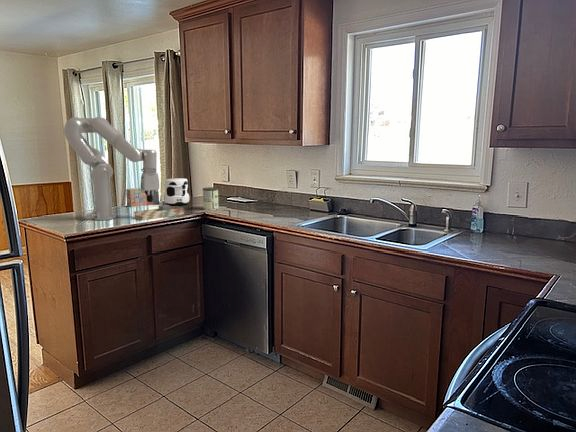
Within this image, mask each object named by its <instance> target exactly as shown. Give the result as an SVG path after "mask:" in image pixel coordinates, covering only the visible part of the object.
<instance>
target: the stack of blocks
mask: <svg viewBox="0 0 576 432" xmlns="http://www.w3.org/2000/svg"><path fill="white" fill-rule="evenodd" d="M125 190H126V193H125V195H126V206H127V207H128V208H135V207H136V206H137V207H145V206H153V205H159V204H160V193H159V192H160V191H159V190H158V192H155V193H154V195H153V200H152V202H147V195H146V194H145V193H144V192H141V187H133V188H125Z"/></svg>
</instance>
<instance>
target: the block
mask: <svg viewBox="0 0 576 432" xmlns="http://www.w3.org/2000/svg"><path fill="white" fill-rule="evenodd" d="M170 207H171V205H169V204H161V205H158V208H159V211H163V210H170Z"/></svg>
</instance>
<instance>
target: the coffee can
mask: <svg viewBox="0 0 576 432" xmlns="http://www.w3.org/2000/svg"><path fill="white" fill-rule="evenodd" d="M202 203H203V205H202V206H203V210H204V211H217V210H216V209H218V210H219V209H220V207H219V205H220V204H219V188H218V187H216V186H215V187H213V186H211V187H203V188H202Z"/></svg>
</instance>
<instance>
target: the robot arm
mask: <svg viewBox="0 0 576 432" xmlns="http://www.w3.org/2000/svg"><path fill="white" fill-rule="evenodd" d="M63 133H64V137H65V139H66V141H67V142H68V144H69V145H70V146H71V148H72V149H73V150H74V152H75V154H76V155H77V156H78V157H79V158H80V160H81V161H82V163H84V165H87V166H90V167H91V168H92V170H91V173H90V174H91V181H92V187H93V200H94V201H93V203H94V211H93V212H91V213H86V217H87V218H91V217H92V219H93V220H94V221H108V220H109V221H110V220H115V219H116V218H117V215H115V214H114V211H113V210H114V209H113V195H112V184H111V178H112V176H113V175H114V169H113V167H112V166H111V163H109V161H108V160H107V159H106V157H105V156H104V155H103V153H102V151H100V150H99V149H97V148H93V147H92V146H91V145H90V142H88V140H87V139H86V138H85V137H84V136H83V134H87V133H88V134H93V133H96V134H97V135H99V136H100V137H101V138H103V140H105V141H106V142H107V143H109V144H110V145H111V146H112V147H113V148H114V149H115V150H117V152H119V153H120V154H121V155H122V156H124V157H125V158H126V159H128V161H130V162H132V163H138V162H142V168H141V169H140V171H141V176H140V188H141V192H144V193H145V194H146V195H147V202H152V200H153V195H154V193H155V192H158V191H159V190H160V178H159V174H158V173H157V150H155V149H142V148H136V147H134V146H133V145H132V144H131V143H129V141H127V140H126V138H125V137H124V135H123V134H122V133H121V132H120V131H119V130H117V128H115V127H114V126H112V125H111V123H110V122H109V120H108V119H106V118H104V117H102V116H101V117H100V116H97V117H96V116H95V117H87V118H86V117H76V116H75V117H70V118H69V119H67V121H66V122H65V124H64V128H63Z"/></svg>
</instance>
